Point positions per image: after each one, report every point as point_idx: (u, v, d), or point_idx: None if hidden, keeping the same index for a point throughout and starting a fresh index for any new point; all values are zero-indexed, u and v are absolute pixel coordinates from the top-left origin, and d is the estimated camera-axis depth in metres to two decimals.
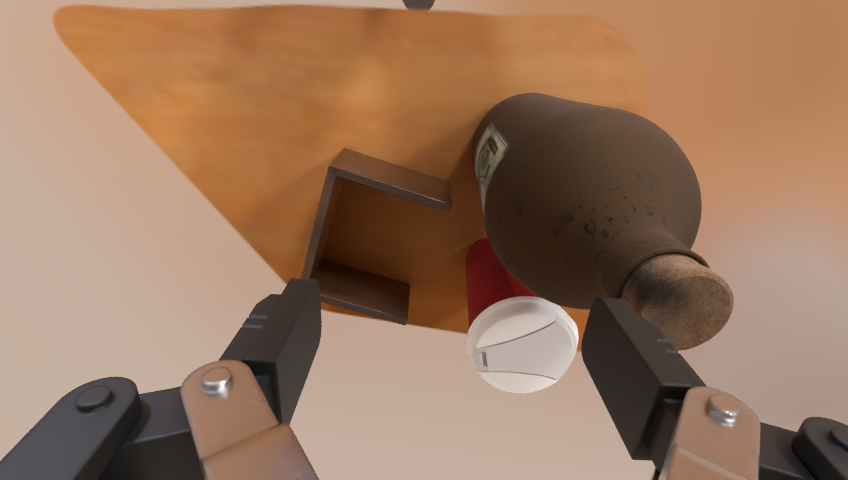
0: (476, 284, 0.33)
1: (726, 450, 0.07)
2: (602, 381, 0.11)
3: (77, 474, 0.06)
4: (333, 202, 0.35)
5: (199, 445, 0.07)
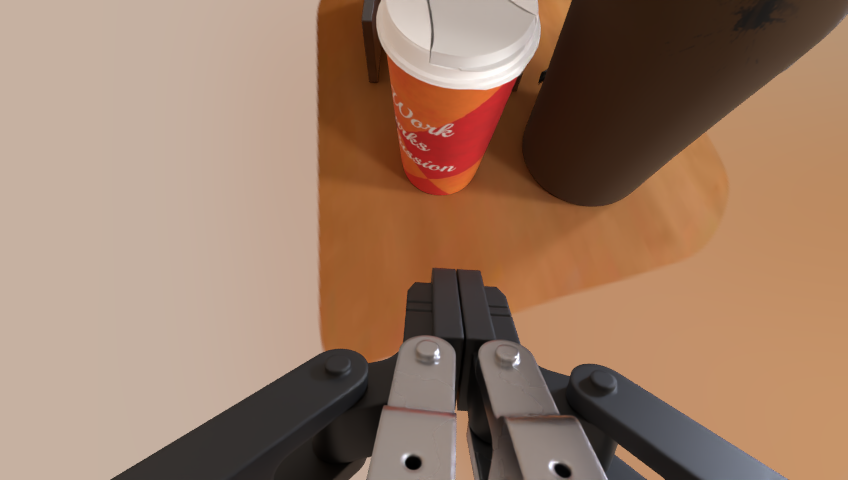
0: None
1: (527, 394, 0.08)
2: None
3: (298, 427, 0.07)
4: None
5: (392, 395, 0.08)
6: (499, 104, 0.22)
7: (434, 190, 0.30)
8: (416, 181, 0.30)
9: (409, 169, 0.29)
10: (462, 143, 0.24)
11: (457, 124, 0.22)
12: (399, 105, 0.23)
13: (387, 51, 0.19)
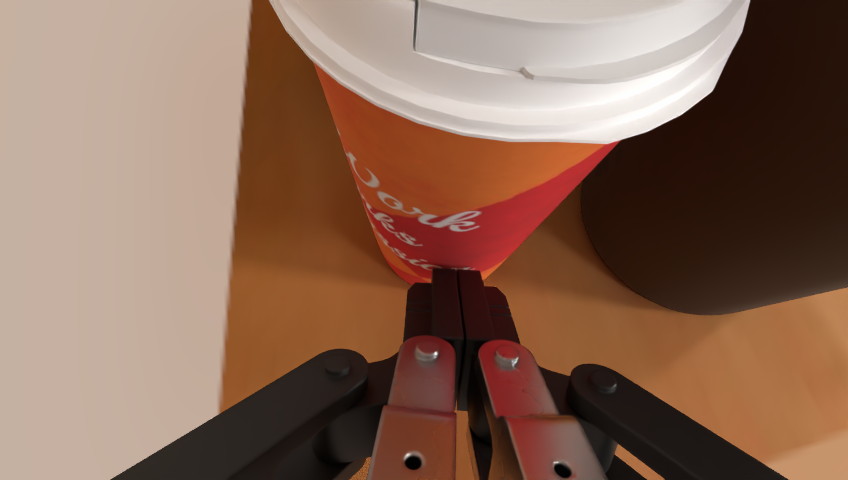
0: None
1: (527, 394, 0.08)
2: None
3: (298, 427, 0.07)
4: None
5: (392, 395, 0.08)
6: None
7: None
8: (399, 273, 0.17)
9: (387, 256, 0.16)
10: (495, 239, 0.11)
11: (490, 212, 0.09)
12: (350, 158, 0.10)
13: (281, 14, 0.06)
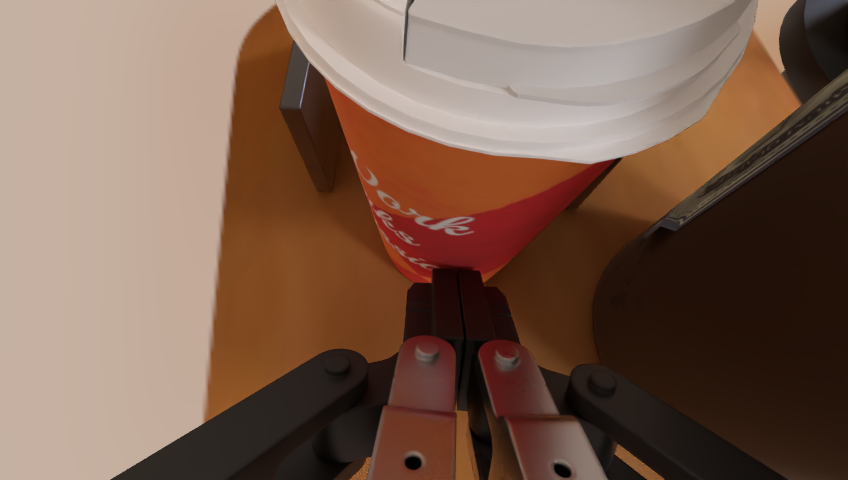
0: None
1: (528, 394, 0.08)
2: None
3: (298, 427, 0.07)
4: None
5: (392, 395, 0.08)
6: (594, 179, 0.09)
7: None
8: (400, 269, 0.17)
9: (389, 252, 0.16)
10: (491, 245, 0.11)
11: (483, 219, 0.09)
12: (353, 155, 0.10)
13: (285, 16, 0.06)
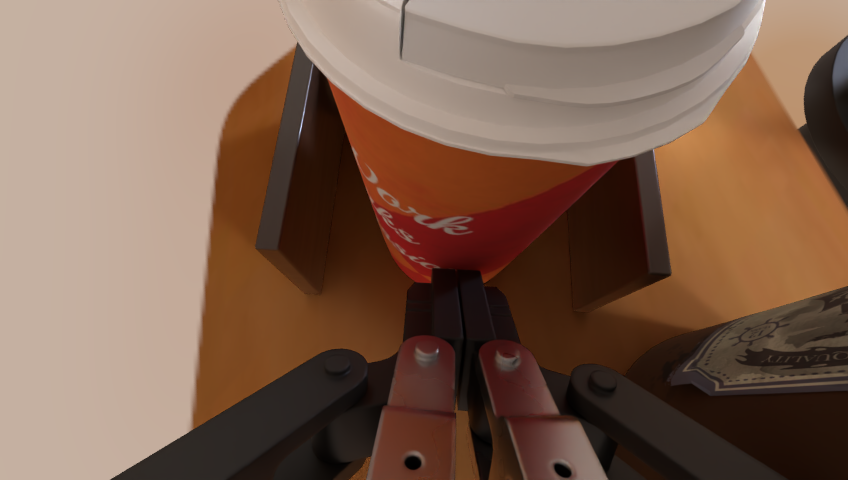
0: None
1: (528, 394, 0.08)
2: None
3: (298, 427, 0.07)
4: None
5: (392, 395, 0.08)
6: (594, 181, 0.08)
7: None
8: (401, 268, 0.17)
9: (390, 249, 0.16)
10: (490, 245, 0.11)
11: (482, 219, 0.09)
12: (353, 152, 0.10)
13: (285, 11, 0.06)
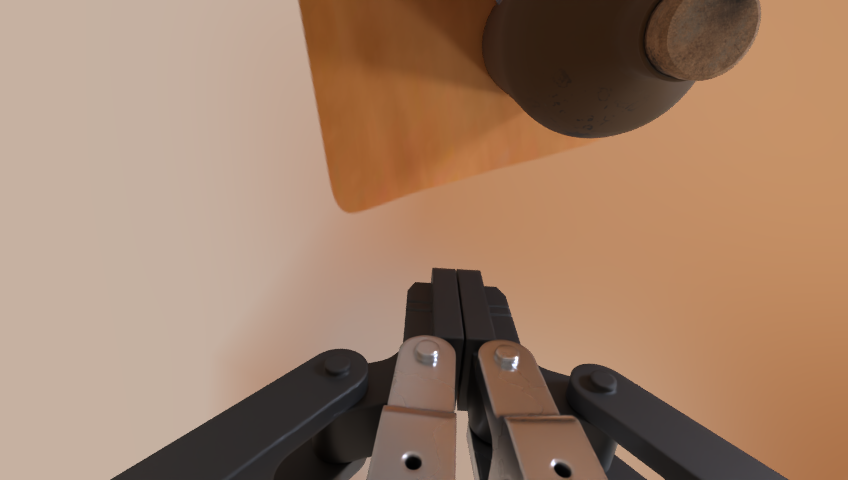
0: None
1: (527, 393, 0.08)
2: None
3: (298, 427, 0.07)
4: None
5: (392, 395, 0.08)
6: None
7: None
8: None
9: None
10: None
11: None
12: None
13: None
